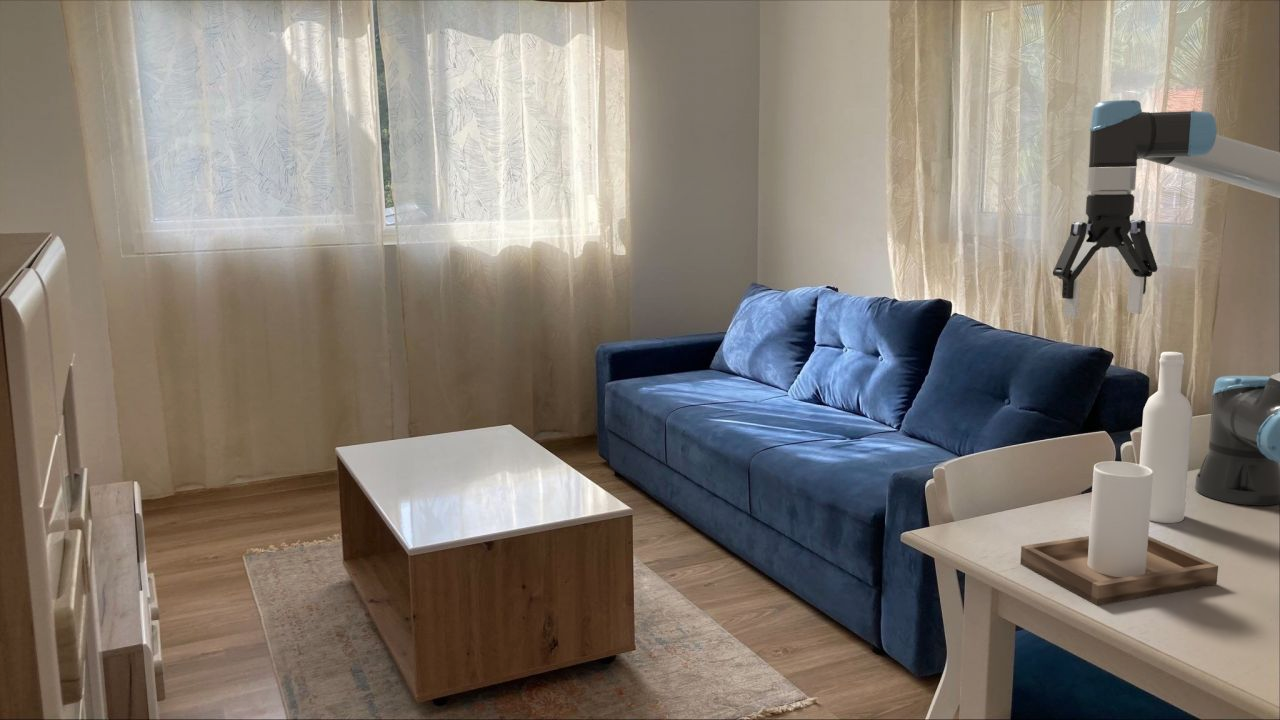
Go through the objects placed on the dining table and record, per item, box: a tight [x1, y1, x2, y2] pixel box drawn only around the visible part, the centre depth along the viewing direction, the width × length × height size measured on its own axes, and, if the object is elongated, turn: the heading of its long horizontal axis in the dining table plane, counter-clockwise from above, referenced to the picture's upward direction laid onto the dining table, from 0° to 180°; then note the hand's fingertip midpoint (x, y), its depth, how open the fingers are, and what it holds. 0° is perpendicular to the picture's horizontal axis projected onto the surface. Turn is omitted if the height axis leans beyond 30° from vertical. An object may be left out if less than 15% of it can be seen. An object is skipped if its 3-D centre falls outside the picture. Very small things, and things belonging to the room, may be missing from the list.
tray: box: [1020, 535, 1219, 606], centre depth 158 cm, size 22×17×3 cm
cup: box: [1087, 460, 1153, 578], centre depth 157 cm, size 8×8×16 cm
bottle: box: [1138, 351, 1193, 524], centre depth 182 cm, size 8×8×30 cm
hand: (1102, 315), depth 179 cm, fingers open, 13 cm apart
